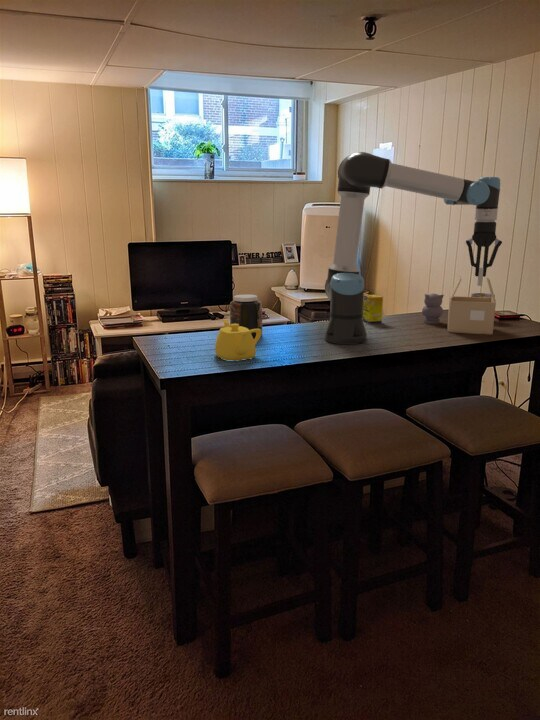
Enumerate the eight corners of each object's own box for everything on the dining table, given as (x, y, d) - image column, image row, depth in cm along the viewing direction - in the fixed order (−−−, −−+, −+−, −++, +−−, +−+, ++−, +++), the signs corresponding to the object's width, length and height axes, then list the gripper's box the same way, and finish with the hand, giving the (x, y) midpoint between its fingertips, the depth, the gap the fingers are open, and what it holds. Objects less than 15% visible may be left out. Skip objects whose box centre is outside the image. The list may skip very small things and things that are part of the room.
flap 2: (491, 297, 214) (493, 296, 214) (494, 301, 204) (495, 301, 204) (485, 276, 213) (487, 276, 212) (488, 280, 203) (489, 279, 202)
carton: (447, 332, 211) (450, 301, 208) (447, 325, 222) (449, 296, 219) (492, 334, 207) (495, 303, 203) (489, 327, 218) (492, 297, 215)
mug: (497, 320, 230) (499, 295, 228) (479, 322, 227) (481, 297, 224) (477, 315, 241) (479, 291, 238) (460, 317, 238) (462, 292, 235)
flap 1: (451, 300, 208) (450, 299, 208) (450, 295, 218) (449, 295, 218) (461, 279, 205) (460, 279, 205) (460, 275, 215) (459, 275, 215)
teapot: (274, 362, 173) (274, 328, 170) (227, 367, 167) (226, 333, 164) (250, 346, 192) (250, 315, 189) (207, 350, 187) (206, 319, 184)
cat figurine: (441, 320, 231) (443, 292, 228) (443, 324, 224) (446, 295, 221) (420, 320, 233) (422, 291, 229) (422, 324, 225) (424, 295, 222)
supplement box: (362, 320, 232) (363, 295, 229) (375, 319, 234) (376, 294, 231) (368, 323, 227) (370, 297, 224) (381, 322, 228) (383, 296, 225)
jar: (243, 340, 200) (242, 299, 195) (224, 335, 208) (223, 295, 204) (268, 335, 207) (268, 296, 203) (249, 330, 215) (248, 292, 211)
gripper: (467, 221, 201) (461, 286, 207) (505, 221, 197) (498, 287, 204) (466, 220, 208) (460, 283, 214) (503, 220, 204) (496, 284, 211)
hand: (479, 285), depth 209 cm, fingers closed
